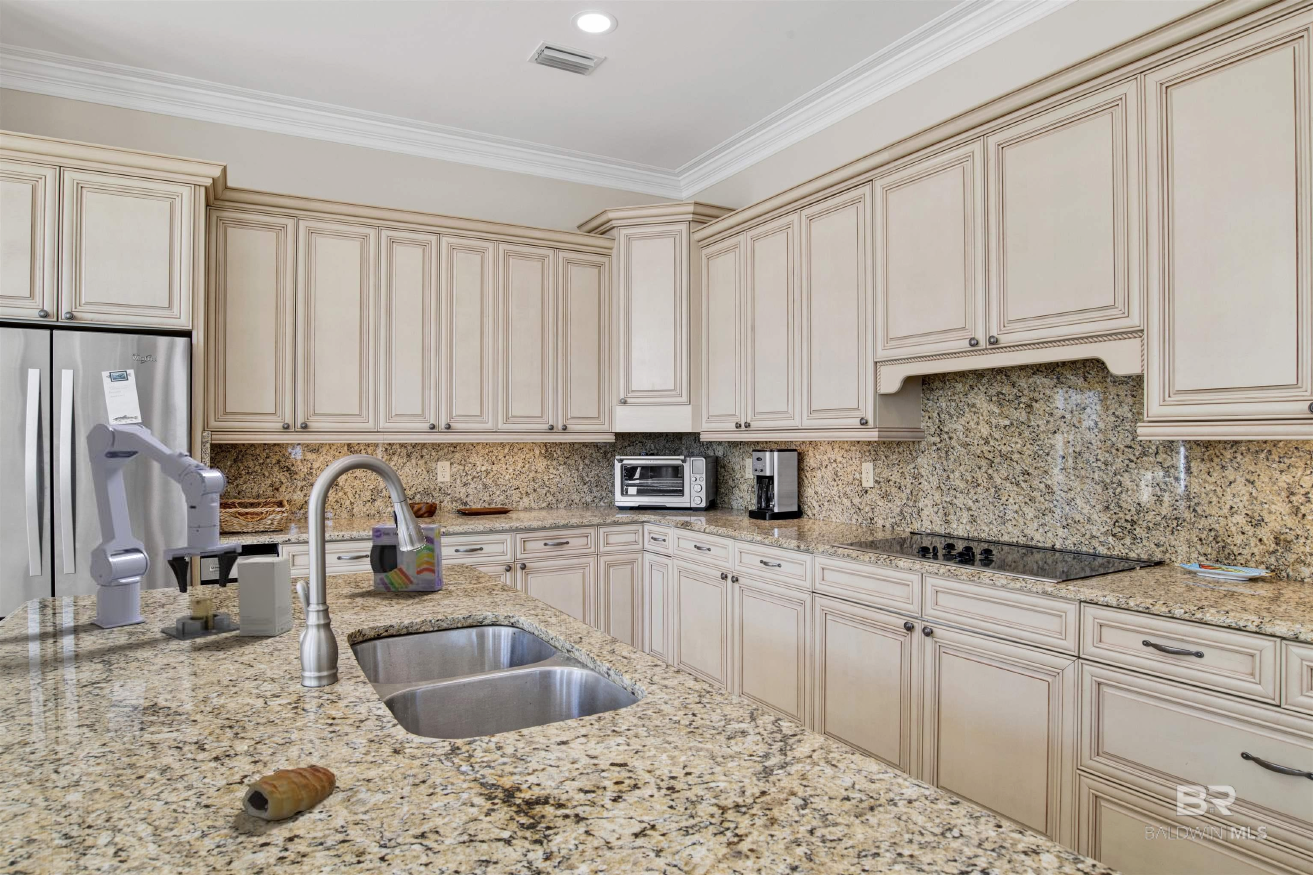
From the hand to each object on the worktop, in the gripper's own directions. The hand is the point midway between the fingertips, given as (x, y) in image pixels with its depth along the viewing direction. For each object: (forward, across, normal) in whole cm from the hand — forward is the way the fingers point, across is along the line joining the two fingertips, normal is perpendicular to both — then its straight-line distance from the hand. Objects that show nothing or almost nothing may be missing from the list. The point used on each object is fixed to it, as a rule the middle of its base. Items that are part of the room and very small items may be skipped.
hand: (203, 589), depth 158 cm
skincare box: (+9, +7, -13) cm, 17 cm away
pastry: (+9, -25, -90) cm, 94 cm away
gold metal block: (+8, 0, 0) cm, 8 cm away
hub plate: (+9, 0, 0) cm, 9 cm away
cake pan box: (+9, +51, +3) cm, 52 cm away
